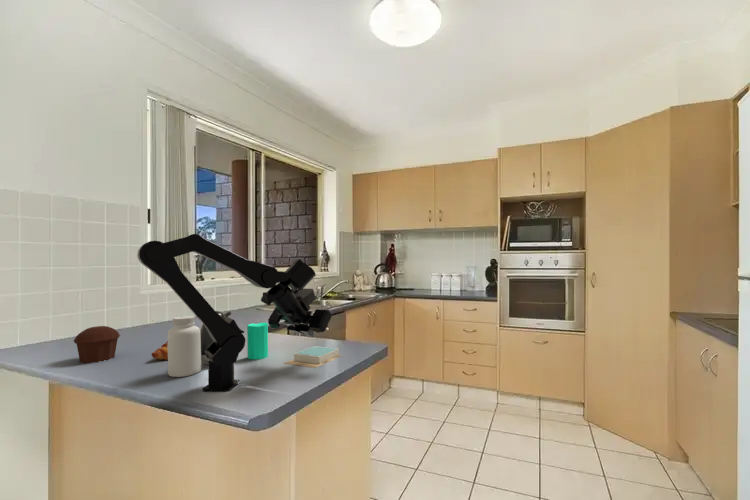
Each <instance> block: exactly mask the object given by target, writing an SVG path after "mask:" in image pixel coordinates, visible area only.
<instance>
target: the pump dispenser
mask: <svg viewBox="0 0 750 500" xmlns="http://www.w3.org/2000/svg"><path fill="white" fill-rule="evenodd" d="M215 311H216V313H217V314H218V315H219V316H220V317H221V318H222V319H224V320H225V319H226V318H227V317H230V316H231V315H232V312H231V311H228V312H226V313H223V312H222V311H219V310H215ZM200 337H201V363H203V364H204V365H206V366H208V361H210V360H209V359H208V358H207V357H206V354H205V350H206V349H207V348H208V346H209V345H210V344H211V343H212V342H213V340H212V339H211V337H210V335H209V333H208V331H207V329H206V327H205V325H204V324H203V323H202V325H201V327H200Z"/></svg>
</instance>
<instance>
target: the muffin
mask: <svg viewBox="0 0 750 500" xmlns="http://www.w3.org/2000/svg"><path fill="white" fill-rule="evenodd" d="M120 336H121V334H120V333H119V331H118V330H117V329H115V328H113V327H111V326H106V325H97V326H91V327H87V328H86V329H84V330H82V331H81V332H79V333H78V334H77V335H76V336H75V337H74V340H73V343H74V344H76V347H77V352H78V359H79V363H80V362H84V363H83V364H91V363H90V362H95V363H100V362H99V361H102V362H105V361H104V360H106V361H109V359H110V360H112V359H115V355H116V350H117V344H118V339H119V338H120ZM111 358H112V359H111Z"/></svg>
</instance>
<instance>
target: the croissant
mask: <svg viewBox="0 0 750 500" xmlns="http://www.w3.org/2000/svg"><path fill="white" fill-rule="evenodd" d="M151 357H152V358H153V359H157V360H165V361H166V360H167V361H168V339H167V341H166V342H165V343H163V344H162V345H161V347H159V348H157V349H156V350H154V351H153V352H151Z"/></svg>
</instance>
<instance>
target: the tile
mask: <svg viewBox="0 0 750 500" xmlns="http://www.w3.org/2000/svg"><path fill="white" fill-rule="evenodd" d="M293 355H294V356H293V359H294V361H301V362H309V363H316V364H321V363H323V362H325V361H328V360H330V359H332V358H334V357H337V356H339V355H340V349H339V348H334V347H326V346H325V347H324V346H318V345H317V346H316V345H314V346H311V347H308V348H305V349H303V350H301V351H297V352H295V353H293Z"/></svg>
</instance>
